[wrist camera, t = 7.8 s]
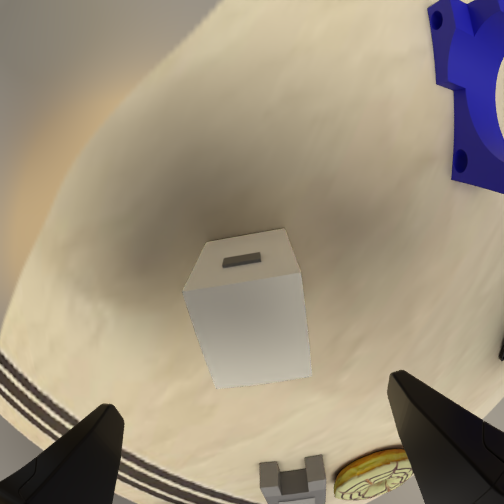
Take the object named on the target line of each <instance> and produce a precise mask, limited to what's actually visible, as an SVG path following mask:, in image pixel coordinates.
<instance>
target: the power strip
mask: <svg viewBox="0 0 504 504" xmlns="http://www.w3.org/2000/svg"><path fill="white" fill-rule="evenodd" d="M305 465H306V469H303V470H296V471H288V472H280V471H279V467H278V464H277V462H269V463H260V489H261V491H262V493H263V495H264V497H265V499H266V501H267V503H268V504H325V499H326V475H325V469H324V464H323V458H322V455H318V456H313V457H307V458H305Z"/></svg>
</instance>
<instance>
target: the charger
mask: <svg viewBox="0 0 504 504" xmlns="http://www.w3.org/2000/svg"><path fill="white" fill-rule="evenodd" d="M182 293H183V296H184V299H185V302H186V306H187V309H188V312H189V315H190V318H191V321H192V324H193V327H194V330H195V333H196V336H197V338H198V341H199V344H200V347H201V350H202V353H203V355H204V358H205V361H206V364H207V366H208V369H209V372H210V374H211V377H212V380H213V382H214V385H215V387H216V389H222V388H233V387H243V386H252V385H260V384H268V383H275V382H282V381H288V380H294V379H300V378H306V377H311V376H312V368H311V357H310V346H309V336H308V326H307V317H306V308H305V300H304V291H303V283H302V275H301V271H300V268H299V265H298V262H297V260H296V257H295V254H294V252H293V249H292V246H291V244H290V241H289V238H288V236H287V233H286V231H285V228H283V229H277V230H271V231H265V232H260V233H254V234H248V235H243V236H237V237H231V238H226V239H220V240H215V241H209V242H206V243H205V245H204V247H203V249H202V251H201V254H200V256H199V258H198V260H197V262H196V264H195V266H194V268H193V270H192V272H191V274H190V276H189V278H188V280H187V282H186V284H185V286H184V288H183V291H182Z"/></svg>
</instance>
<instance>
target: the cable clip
mask: <svg viewBox="0 0 504 504" xmlns="http://www.w3.org/2000/svg"><path fill="white" fill-rule="evenodd" d="M427 10H428V15H429V21H430V27H431V34H432V42H433V50H434V60H435V72H436V84H437V85H440V86H443V87H445V88H448V89H451V90H453V91H454V150H453V165H452V177H451V180H455V181H459V182H463V183H467V184H471V185H474V186H478V187H482V188H485V189H489V190H492V191H495V192H499V193H502V194H504V139H503V136H502V133H501V130H500V127H499V123H498V119H497V113H496V104H495V89H496V80H497V75H498V71H499V67H500V65H501V62H502V60H503V57H504V0H474V1H472V2H470V3H468V4H466V3H464V2H462V1H460V0H439V1H438V2H436V3H435V4H433V5H432V6H430V7H429V8H427Z"/></svg>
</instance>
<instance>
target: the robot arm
mask: <svg viewBox="0 0 504 504" xmlns="http://www.w3.org/2000/svg"><path fill="white" fill-rule="evenodd" d="M499 359H500V360H501V361H503V360H504V345H503V348H502V351H501V354H500V356H499ZM387 395H388V399H389V402H390V406H391V409H392V413H393V416H394V420H395V423H396V427H397V431H398V434H399V437H400V440H401V442H402V445H403V447H404V450H405V452H406V454H407V457H408V459H409V462H410V465H411V467H412V470H413V472H414V475H415V478H416V480H417V483H418V486H419V488H420V491H421V494H422V496H423V499H424V502H425V504H504V432H502V431H501V430H499V429H497V428H495V427H493V426H492V425H490V424H489V423H487V422H485V421H484V422H483V420H482V419H480V418H479V417H477V416H476V415H474V414H472V413H471V412H469V411H468V410H466V409H464V408H463V407H461V406H460V405H458V404H456V403H455V402H453V401H452V400H450V399H448V398H447V397H445V396H444V395H442V394H441V393H439V392H437V391H436V390H434V389H433V388H431V387H430V386H428V385H426V384H425V383H423V382H422V381H420V380H419V379H417V378H415V377H414V376H412V375H411V374H409V373H408V372H406V371H404V370H399V371H396V372H392V373H391V374H390V377H389V383H388V389H387ZM123 433H124V420H123V418H122V416H121V415H120V413H119V412H118V411H117V409H116V408H115V406H114V405H112V404H101V405H100V406H99V407H97V408H96V409H95V410H94V411H92V412H91V413H90V414H89V415H88V416H86V417H85V418H84V419H83V420H82V421H80V422H79V423H78V424H77V425H75V426H74V427H73V428H72V429H70V430H69V431H68V432H67V433H66V434H64V435H63V436H62V437H61V438H59V439H58V440H57V441H56V442H54V443H53V444H52V445H51V446H49V447H48V448H47V449H46V450H44V451H43V452H42V453H41V454H39V455H38V456H37V457H36V458H34V459H33V460H32V461H31V462H29V463H28V464H26V465H25V466H24V467H22V468H21V469H20V470H18V471H16V472H15V473H13V474H12V475H10V476H9V477H7V478H6V479H4V480H2V481H0V504H112V501H113V496H114V491H115V485H116V480H117V475H118V470H119V465H120V460H121V451H122V441H123Z"/></svg>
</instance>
